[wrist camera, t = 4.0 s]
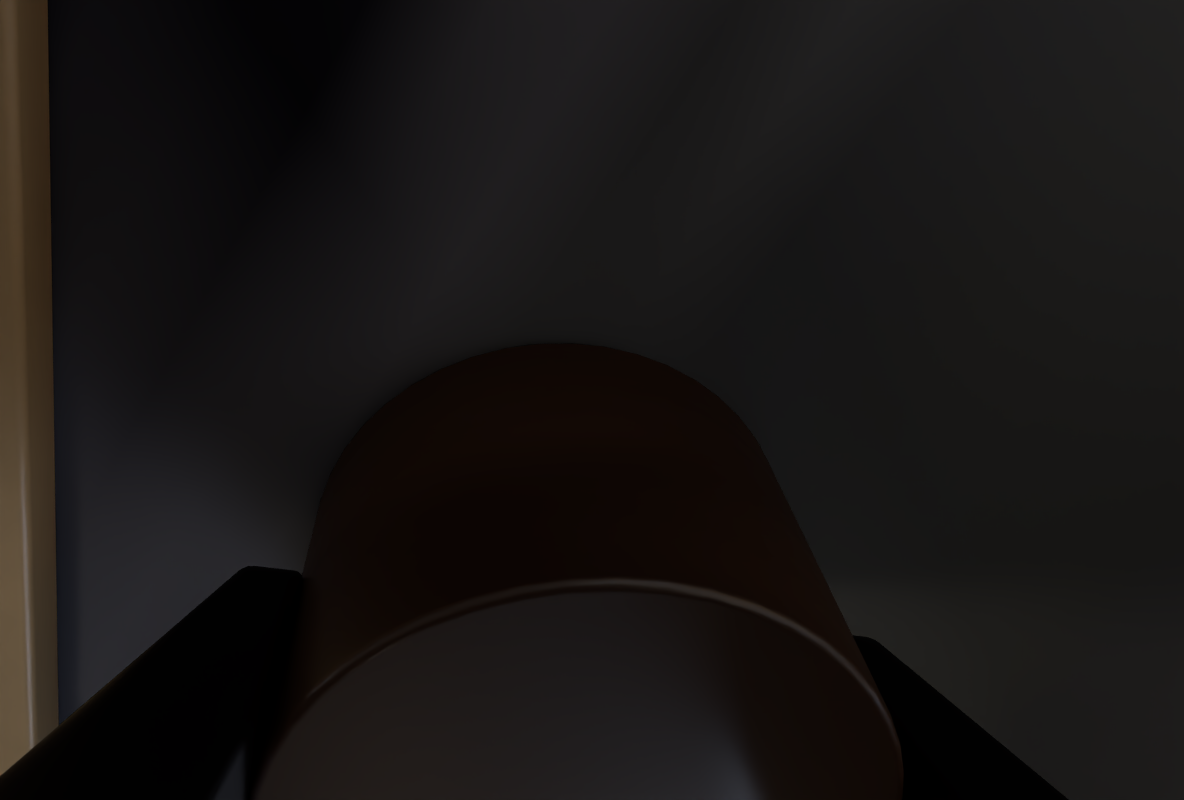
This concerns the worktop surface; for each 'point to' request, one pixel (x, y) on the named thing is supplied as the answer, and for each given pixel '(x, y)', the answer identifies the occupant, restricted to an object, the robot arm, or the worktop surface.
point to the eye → (567, 605)
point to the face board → (26, 388)
